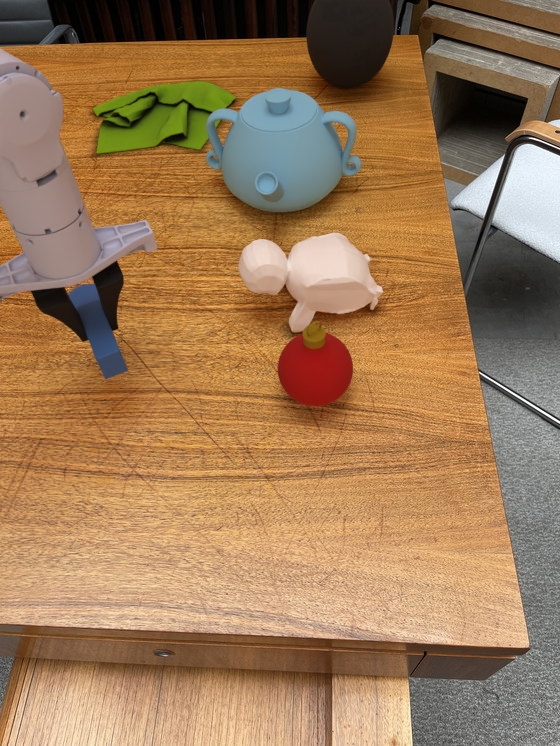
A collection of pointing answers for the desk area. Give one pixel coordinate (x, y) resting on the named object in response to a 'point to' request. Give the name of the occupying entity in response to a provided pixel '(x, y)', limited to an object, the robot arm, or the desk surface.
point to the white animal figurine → (311, 275)
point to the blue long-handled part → (98, 330)
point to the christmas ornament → (315, 367)
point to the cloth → (160, 116)
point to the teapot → (282, 150)
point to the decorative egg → (349, 40)
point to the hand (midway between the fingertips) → (98, 328)
